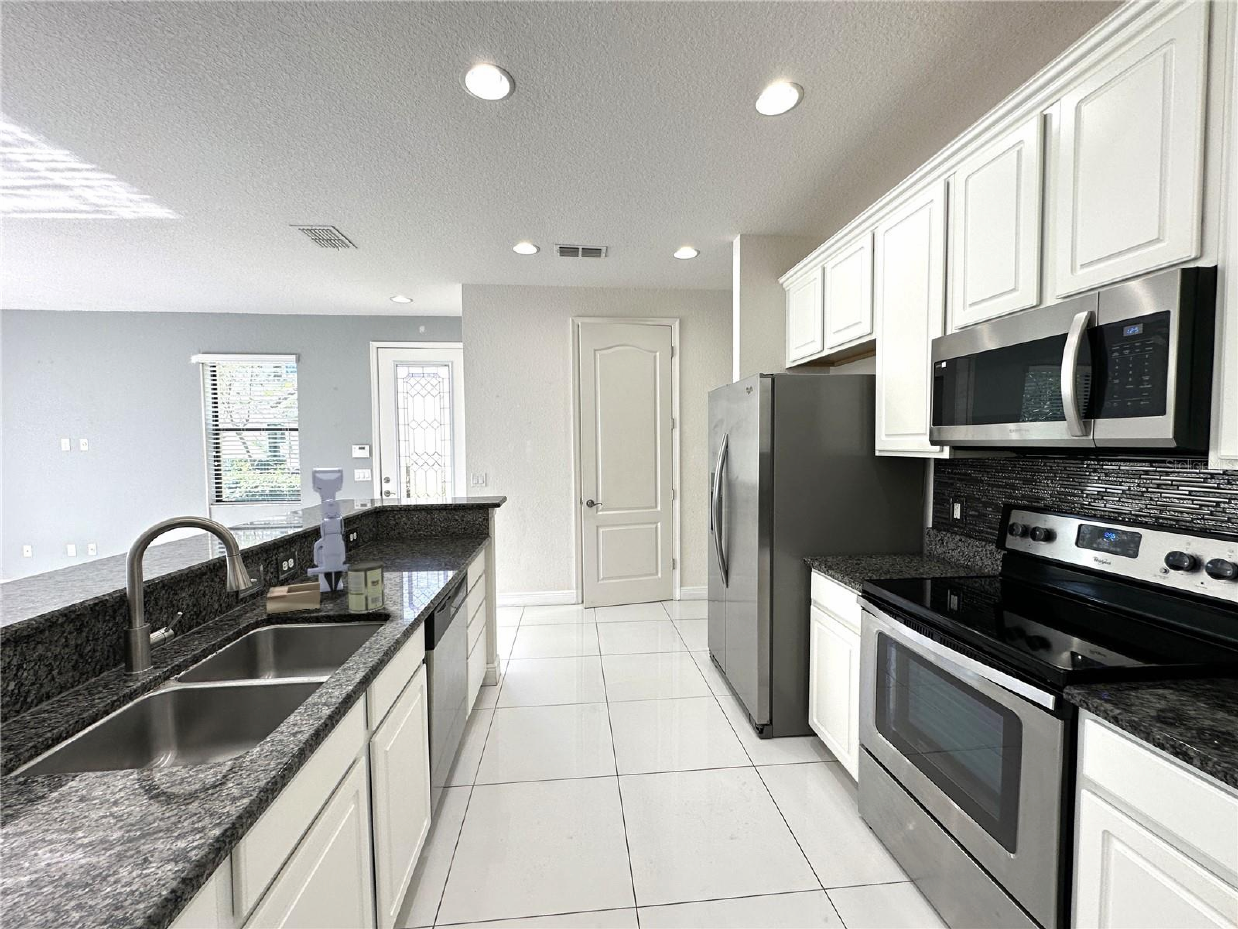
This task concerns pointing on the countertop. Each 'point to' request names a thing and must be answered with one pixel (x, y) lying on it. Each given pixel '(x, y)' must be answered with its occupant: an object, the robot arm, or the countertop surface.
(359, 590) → the coffee can
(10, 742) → the countertop surface
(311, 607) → the wooden channel
